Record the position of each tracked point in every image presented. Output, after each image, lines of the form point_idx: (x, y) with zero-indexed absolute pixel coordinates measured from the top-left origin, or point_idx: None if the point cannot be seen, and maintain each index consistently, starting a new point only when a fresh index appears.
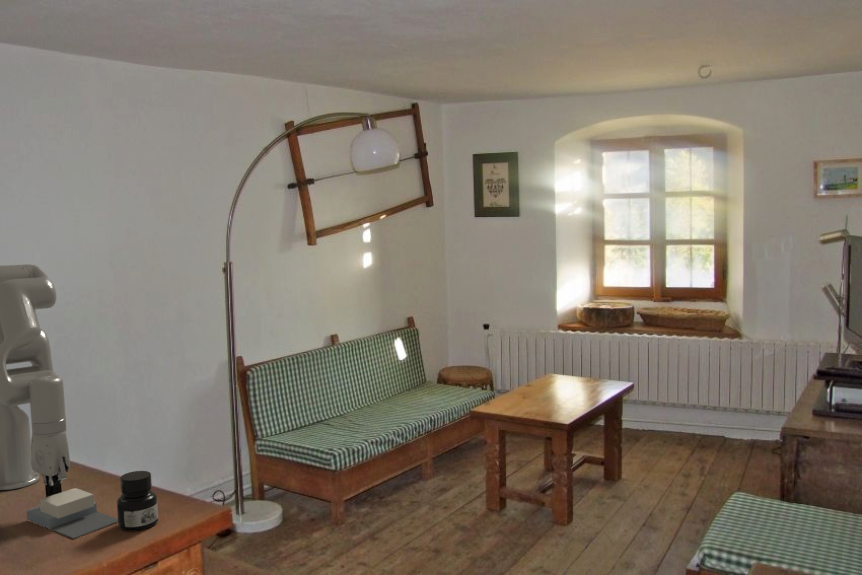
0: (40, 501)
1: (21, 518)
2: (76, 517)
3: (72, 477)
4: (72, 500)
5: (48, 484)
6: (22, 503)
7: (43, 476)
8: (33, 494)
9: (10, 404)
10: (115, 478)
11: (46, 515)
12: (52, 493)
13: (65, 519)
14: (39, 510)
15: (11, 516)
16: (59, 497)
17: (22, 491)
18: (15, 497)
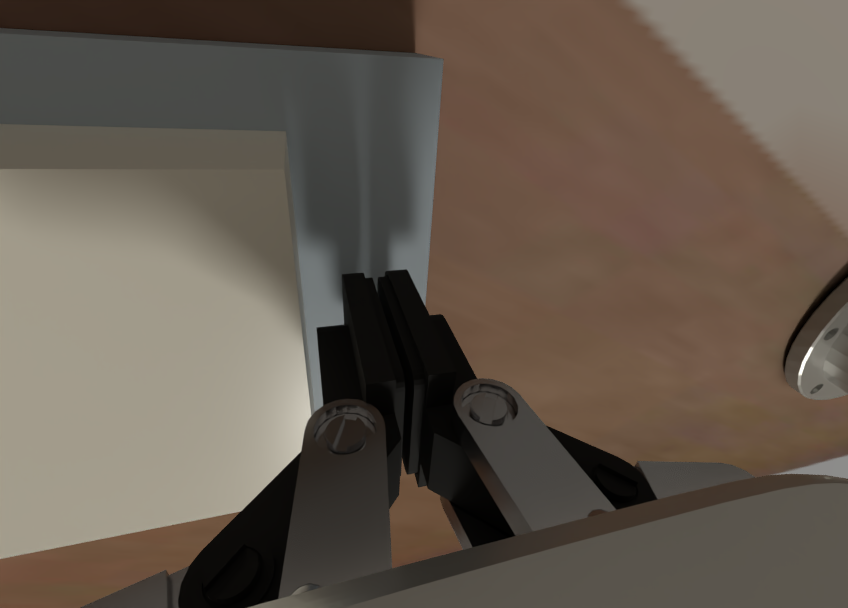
0: (268, 162)
1: (502, 54)
2: None
3: (670, 457)
4: None
5: (436, 402)
6: (694, 217)
7: (558, 467)
8: (713, 307)
9: None
10: None
11: (75, 94)
12: (345, 344)
13: None
14: (324, 139)
15: (611, 34)
16: (141, 349)
17: (788, 292)
18: (782, 237)
